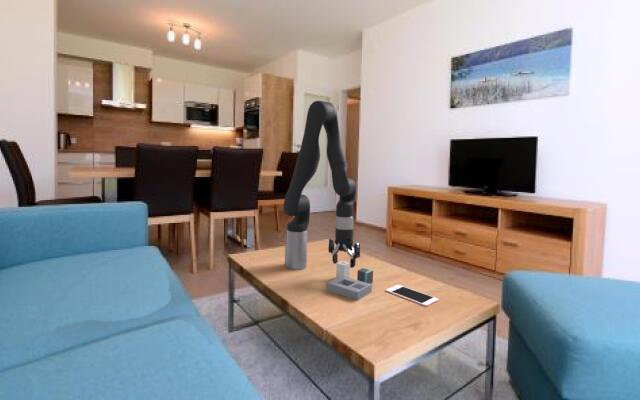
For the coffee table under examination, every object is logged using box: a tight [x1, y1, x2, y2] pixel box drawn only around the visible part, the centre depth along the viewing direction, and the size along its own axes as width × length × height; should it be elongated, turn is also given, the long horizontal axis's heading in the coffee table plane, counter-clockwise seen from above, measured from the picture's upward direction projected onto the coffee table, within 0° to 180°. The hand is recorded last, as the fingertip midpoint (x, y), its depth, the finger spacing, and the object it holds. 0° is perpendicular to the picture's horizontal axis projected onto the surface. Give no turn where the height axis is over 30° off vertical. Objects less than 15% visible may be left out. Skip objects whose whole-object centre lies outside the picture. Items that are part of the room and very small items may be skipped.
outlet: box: [326, 276, 373, 301], centre depth 132 cm, size 14×10×3 cm
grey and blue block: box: [356, 267, 374, 284], centre depth 141 cm, size 5×4×5 cm
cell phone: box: [384, 284, 439, 308], centre depth 129 cm, size 9×18×1 cm, turn 42°
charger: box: [335, 260, 351, 279], centre depth 144 cm, size 4×4×7 cm
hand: (343, 265), depth 143 cm, fingers open, 8 cm apart
